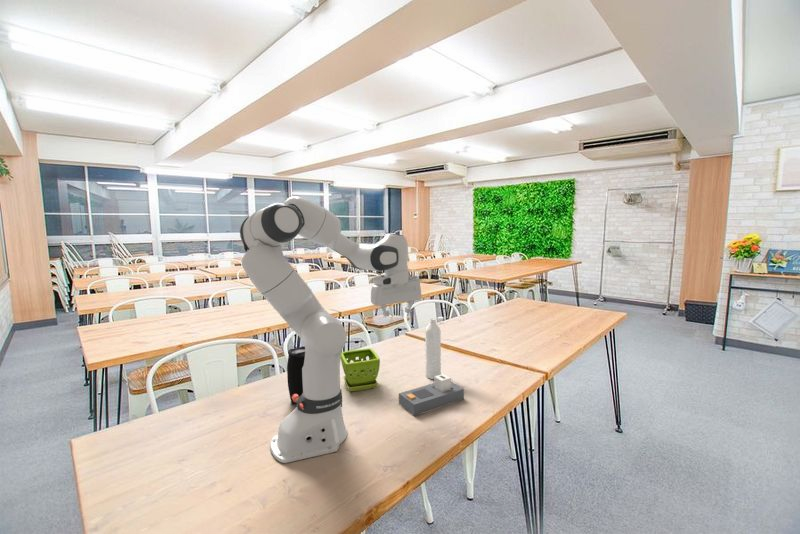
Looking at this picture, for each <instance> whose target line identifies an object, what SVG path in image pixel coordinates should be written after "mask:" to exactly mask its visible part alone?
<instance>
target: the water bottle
mask: <svg viewBox="0 0 800 534" xmlns="http://www.w3.org/2000/svg"><path fill="white" fill-rule="evenodd" d="M436 320H438V321H444V320H445V319H444V317H443V316H438V317H437V319H436V318H430V319H429V323H428V325H427V326H426V328H425V330H424V331H425V334H424V335H425V340H424V341H425V344H424V345H425V349H424V350H425V355H424V356H425V377H426V378H427V379H430V380H434V376H438V375H442V371H441V366H442V362H441V361H442V358H441V357H442V356H441V355H442V354H441V351H442V349H441V340H442V339H441V338H442V337H441V332H442V331H441V328H440V327H439V325H438V324H437V321H436Z"/></svg>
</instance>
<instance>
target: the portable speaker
mask: <svg viewBox="0 0 800 534" xmlns="http://www.w3.org/2000/svg"><path fill="white" fill-rule="evenodd" d="M287 354H288V357H287V364H286V372H287V375H286V376H287V387H288V388H287V389H288V393H289V398H290V403H291V404H292V405H294V404H295V406H297V402H294V401H293V399H292V396H293V395H294V394H298V396H299V397H300V396H301V395H302V393H303V381H302V368H303V366H304V359H305V345H303V346H299V347H294V348H289V349H288V351H287Z"/></svg>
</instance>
